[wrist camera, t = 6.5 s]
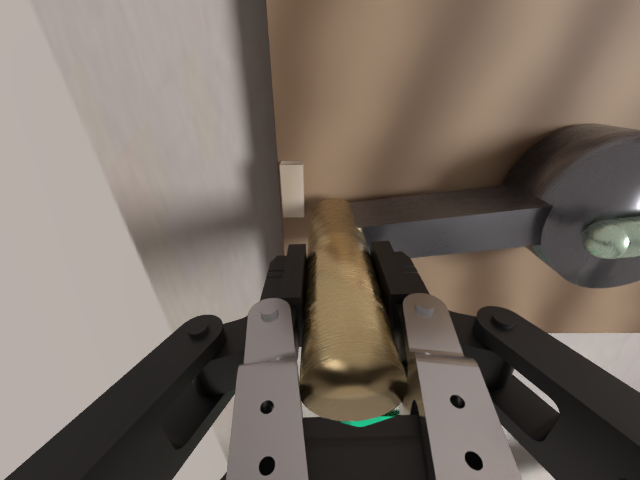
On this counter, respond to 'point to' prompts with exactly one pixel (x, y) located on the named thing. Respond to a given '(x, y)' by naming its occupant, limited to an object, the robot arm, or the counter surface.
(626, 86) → the walnut base
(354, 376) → the crank handle
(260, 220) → the counter surface
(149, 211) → the counter surface
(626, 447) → the robot arm
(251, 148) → the counter surface
